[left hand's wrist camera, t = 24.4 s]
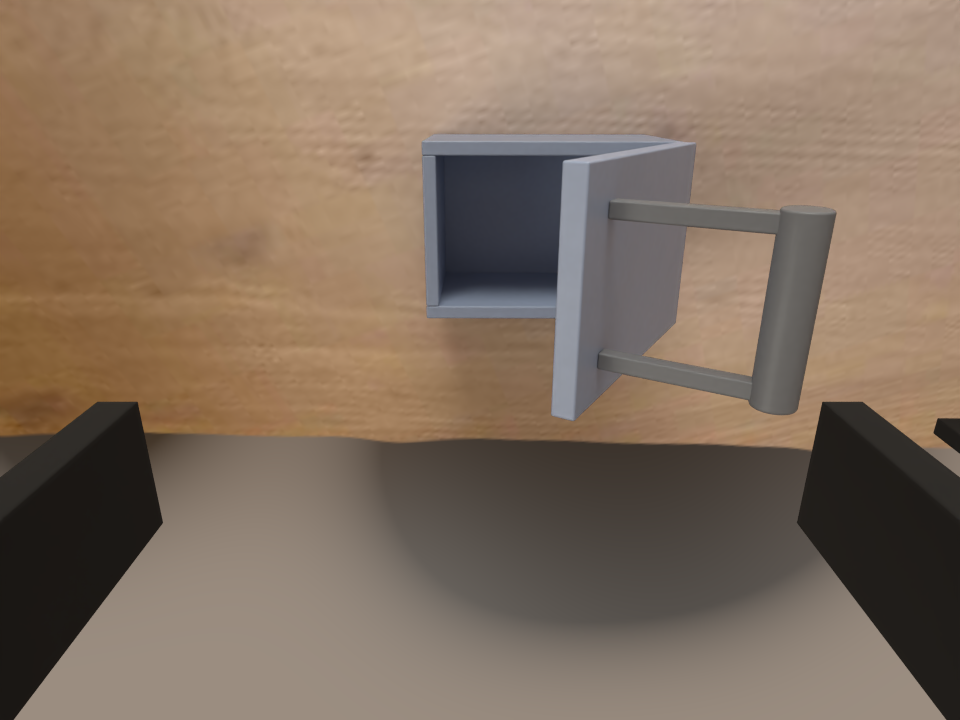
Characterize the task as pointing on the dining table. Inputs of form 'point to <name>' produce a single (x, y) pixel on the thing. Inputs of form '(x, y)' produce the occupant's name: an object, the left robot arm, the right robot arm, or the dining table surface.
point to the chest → (500, 218)
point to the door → (670, 280)
